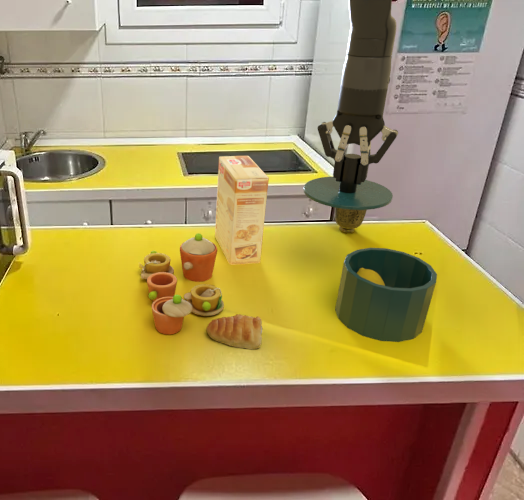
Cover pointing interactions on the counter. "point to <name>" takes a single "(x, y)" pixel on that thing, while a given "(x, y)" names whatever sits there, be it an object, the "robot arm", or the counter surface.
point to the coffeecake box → (240, 209)
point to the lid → (348, 189)
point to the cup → (349, 219)
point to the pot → (385, 294)
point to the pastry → (237, 331)
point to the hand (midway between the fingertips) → (349, 181)
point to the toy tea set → (164, 284)
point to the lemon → (370, 276)
